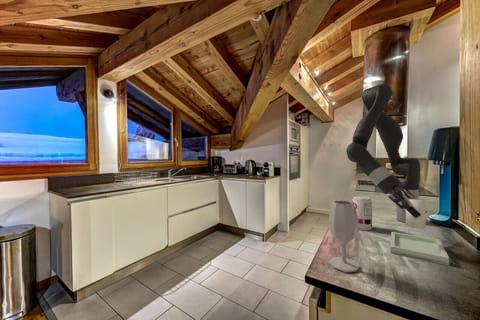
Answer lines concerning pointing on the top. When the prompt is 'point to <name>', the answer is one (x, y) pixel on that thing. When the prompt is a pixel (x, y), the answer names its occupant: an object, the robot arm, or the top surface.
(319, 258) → the top surface
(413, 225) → the white domed cylinder
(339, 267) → the wineglass
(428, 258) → the tray
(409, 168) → the robot arm
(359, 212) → the supplement can
